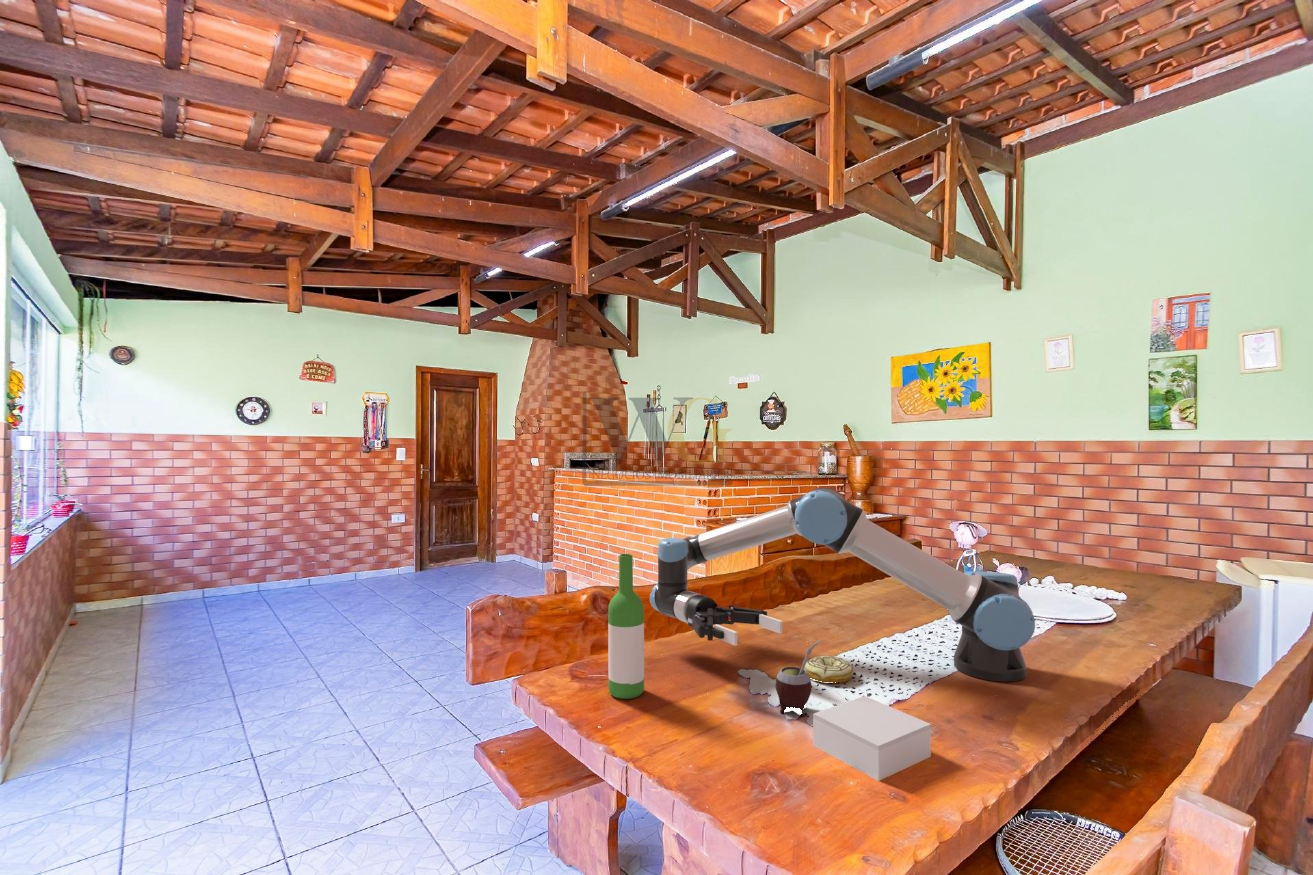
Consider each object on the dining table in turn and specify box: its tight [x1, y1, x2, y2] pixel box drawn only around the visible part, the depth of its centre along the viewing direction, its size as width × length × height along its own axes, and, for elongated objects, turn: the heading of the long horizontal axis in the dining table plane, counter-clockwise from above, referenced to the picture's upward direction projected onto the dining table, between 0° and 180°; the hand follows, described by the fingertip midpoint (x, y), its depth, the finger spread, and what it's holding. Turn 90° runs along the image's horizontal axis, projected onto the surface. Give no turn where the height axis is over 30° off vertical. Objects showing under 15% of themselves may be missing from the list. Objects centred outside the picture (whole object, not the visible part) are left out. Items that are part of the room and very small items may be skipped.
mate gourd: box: [775, 639, 823, 718], centre depth 128 cm, size 8×8×15 cm
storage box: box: [812, 695, 932, 782], centre depth 111 cm, size 14×14×6 cm
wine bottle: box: [607, 553, 645, 700], centre depth 136 cm, size 8×8×30 cm
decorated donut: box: [804, 655, 854, 683], centre depth 145 cm, size 10×11×4 cm
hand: (759, 632), depth 135 cm, fingers open, 13 cm apart
